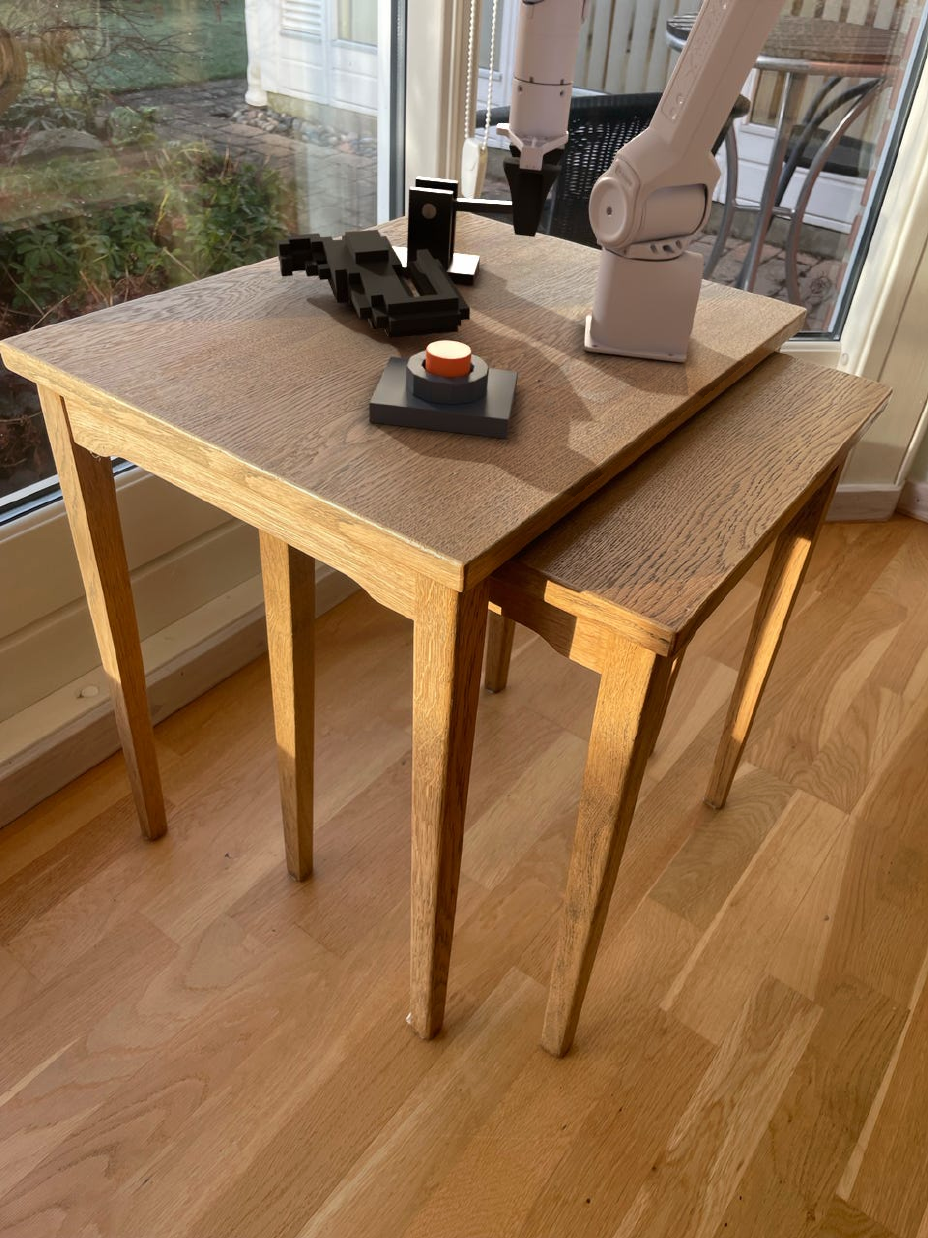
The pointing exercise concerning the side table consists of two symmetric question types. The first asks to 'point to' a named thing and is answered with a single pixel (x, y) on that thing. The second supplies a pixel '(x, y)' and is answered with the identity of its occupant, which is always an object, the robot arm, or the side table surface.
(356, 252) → the tool
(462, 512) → the side table surface
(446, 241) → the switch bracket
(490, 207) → the switch lever
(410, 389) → the button box
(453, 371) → the button
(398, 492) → the side table surface
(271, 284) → the side table surface
